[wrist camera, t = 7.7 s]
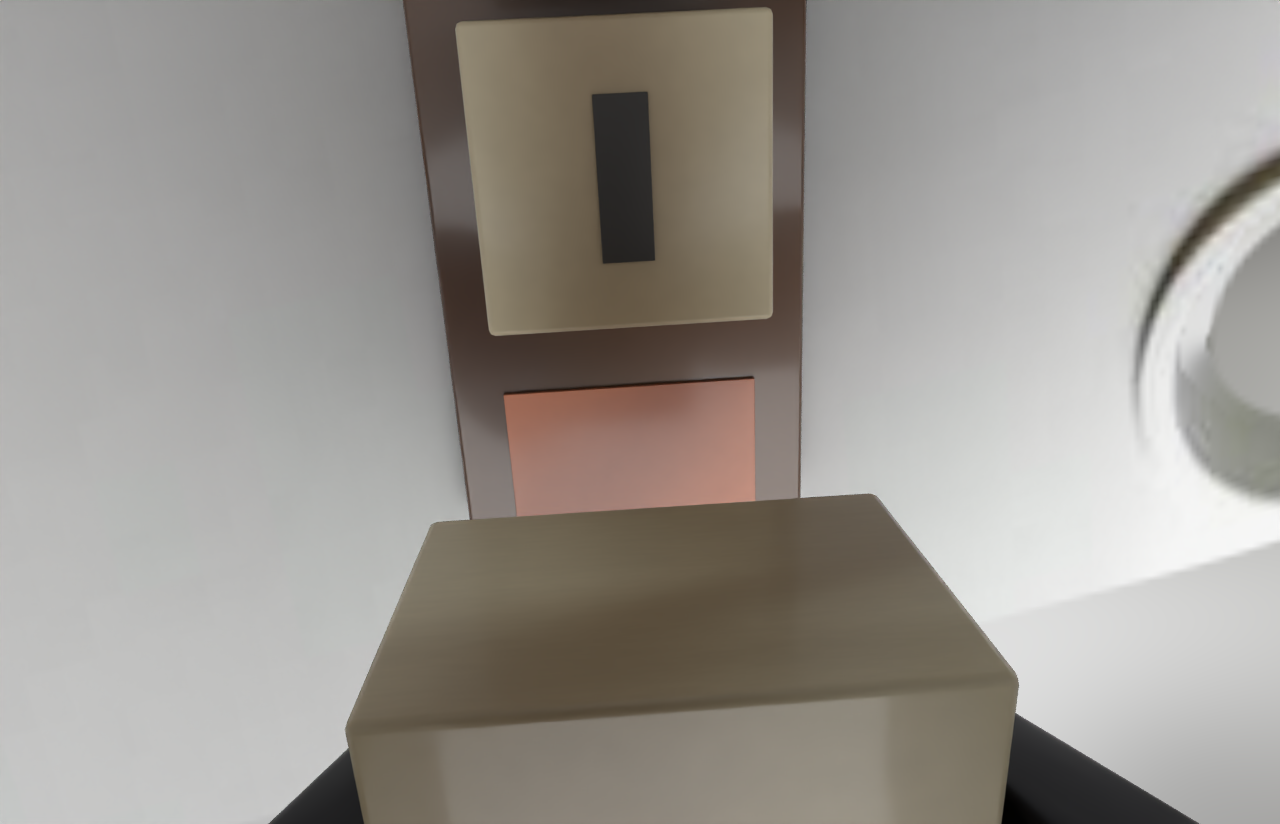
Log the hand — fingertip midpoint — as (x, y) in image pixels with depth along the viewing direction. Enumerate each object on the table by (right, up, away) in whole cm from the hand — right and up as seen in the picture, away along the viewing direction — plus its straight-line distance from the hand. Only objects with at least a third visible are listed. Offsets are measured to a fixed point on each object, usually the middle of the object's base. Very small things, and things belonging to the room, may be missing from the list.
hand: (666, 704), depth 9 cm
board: (-1, +8, +7) cm, 11 cm away
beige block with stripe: (0, 0, 0) cm, 0 cm away
